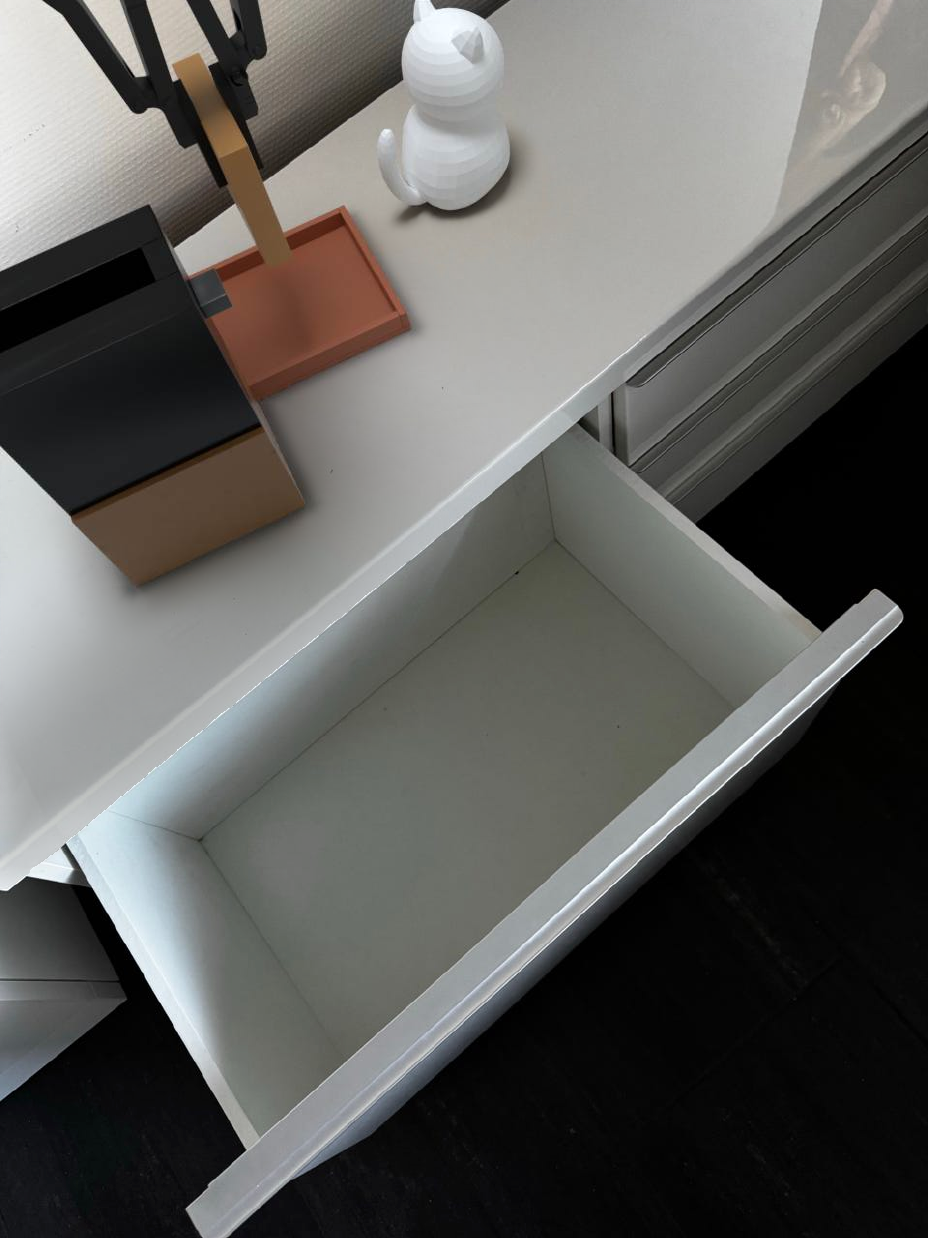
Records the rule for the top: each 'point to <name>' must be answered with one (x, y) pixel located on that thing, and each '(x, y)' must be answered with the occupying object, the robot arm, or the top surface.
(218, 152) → the toast
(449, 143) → the cat figurine
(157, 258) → the toaster
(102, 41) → the robot arm
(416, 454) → the top surface
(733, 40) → the top surface
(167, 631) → the top surface
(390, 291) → the tray
